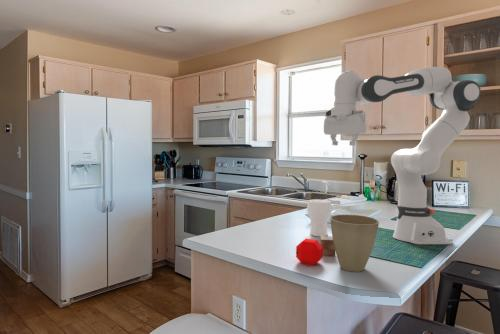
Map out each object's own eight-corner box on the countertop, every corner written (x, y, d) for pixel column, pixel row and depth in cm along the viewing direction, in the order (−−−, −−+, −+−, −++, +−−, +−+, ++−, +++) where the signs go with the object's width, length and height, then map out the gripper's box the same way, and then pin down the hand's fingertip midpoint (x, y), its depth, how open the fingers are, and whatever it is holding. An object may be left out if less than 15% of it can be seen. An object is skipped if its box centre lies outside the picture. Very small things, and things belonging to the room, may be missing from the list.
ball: (301, 257, 121) (301, 236, 121) (324, 261, 118) (324, 239, 117) (293, 264, 114) (294, 241, 114) (317, 268, 110) (318, 245, 110)
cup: (331, 238, 148) (332, 203, 148) (306, 236, 151) (307, 202, 150) (330, 232, 159) (331, 199, 158) (307, 230, 161) (307, 198, 160)
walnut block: (333, 252, 128) (334, 236, 128) (335, 256, 123) (335, 240, 123) (319, 251, 129) (320, 235, 128) (320, 256, 124) (321, 239, 123)
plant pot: (325, 272, 107) (327, 221, 106) (332, 258, 121) (333, 213, 120) (376, 279, 102) (378, 225, 101) (377, 264, 116) (379, 216, 115)
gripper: (370, 110, 136) (369, 145, 136) (332, 114, 153) (331, 145, 154) (359, 109, 132) (358, 145, 133) (321, 112, 150) (320, 145, 150)
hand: (343, 145), depth 143 cm, fingers open, 8 cm apart
